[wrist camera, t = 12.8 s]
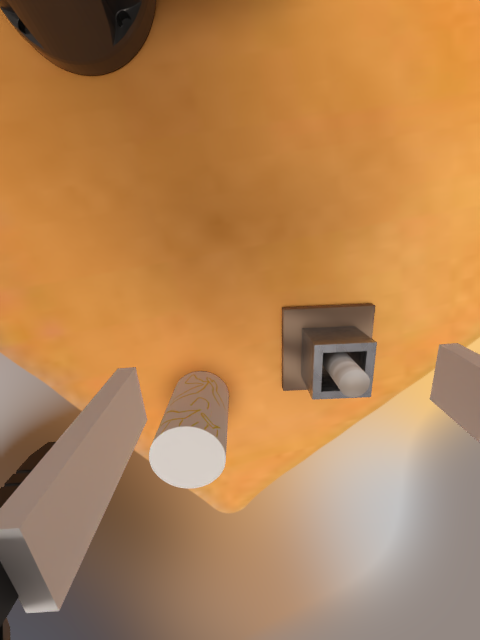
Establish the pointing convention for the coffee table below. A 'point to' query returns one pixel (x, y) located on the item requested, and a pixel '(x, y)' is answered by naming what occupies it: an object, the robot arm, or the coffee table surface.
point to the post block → (336, 363)
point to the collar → (328, 342)
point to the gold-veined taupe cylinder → (192, 432)
